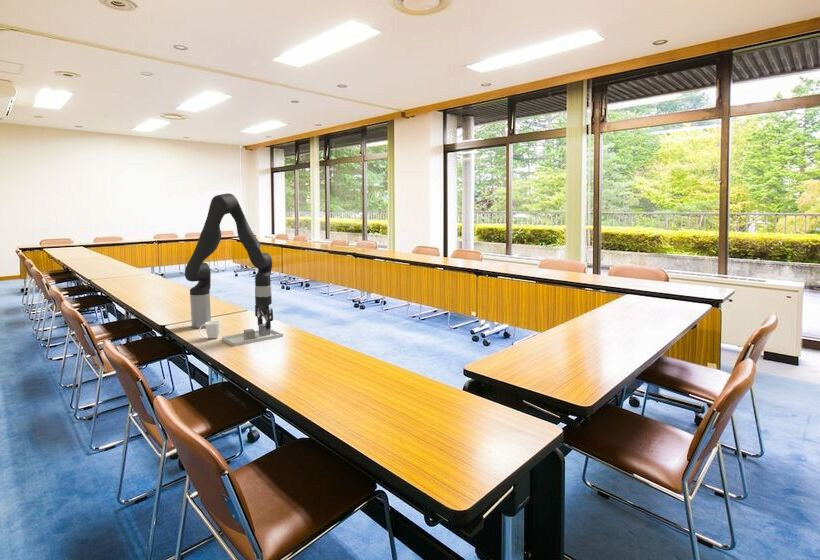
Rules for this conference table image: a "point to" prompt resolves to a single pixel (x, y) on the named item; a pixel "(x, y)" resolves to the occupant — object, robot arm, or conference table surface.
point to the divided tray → (239, 339)
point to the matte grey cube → (263, 330)
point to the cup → (211, 329)
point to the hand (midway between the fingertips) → (264, 327)
